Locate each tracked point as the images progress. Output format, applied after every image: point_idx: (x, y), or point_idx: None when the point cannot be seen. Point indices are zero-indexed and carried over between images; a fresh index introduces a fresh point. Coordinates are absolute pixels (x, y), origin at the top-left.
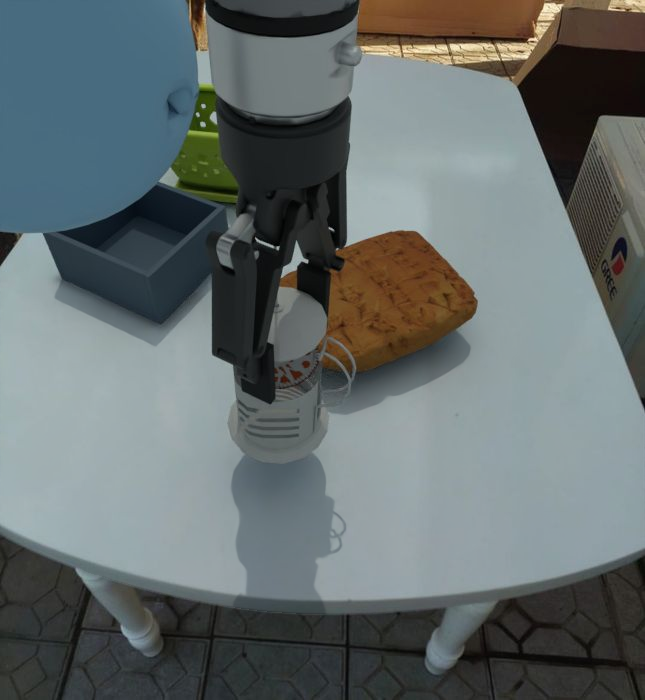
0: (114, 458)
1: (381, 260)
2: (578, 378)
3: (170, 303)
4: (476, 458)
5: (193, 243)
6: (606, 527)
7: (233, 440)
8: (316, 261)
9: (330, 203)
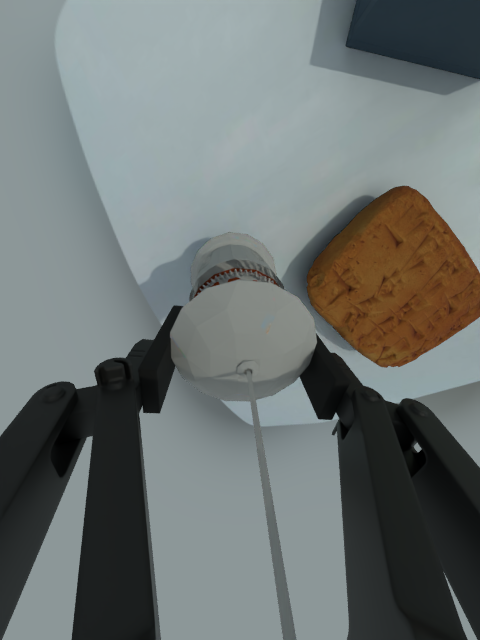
0: (166, 115)
1: (439, 299)
2: None
3: (378, 39)
4: None
5: None
6: None
7: (197, 252)
8: (346, 412)
9: (471, 588)
